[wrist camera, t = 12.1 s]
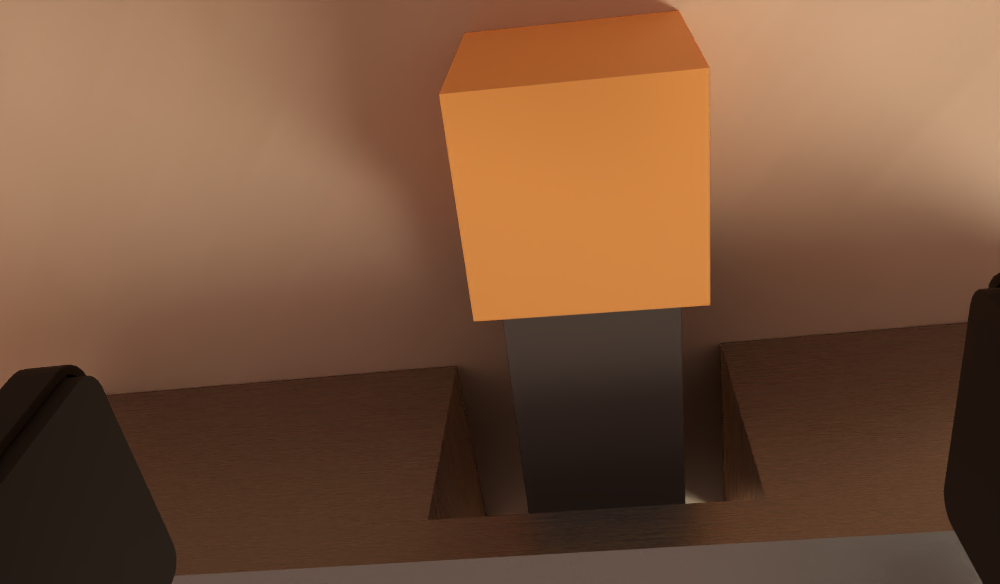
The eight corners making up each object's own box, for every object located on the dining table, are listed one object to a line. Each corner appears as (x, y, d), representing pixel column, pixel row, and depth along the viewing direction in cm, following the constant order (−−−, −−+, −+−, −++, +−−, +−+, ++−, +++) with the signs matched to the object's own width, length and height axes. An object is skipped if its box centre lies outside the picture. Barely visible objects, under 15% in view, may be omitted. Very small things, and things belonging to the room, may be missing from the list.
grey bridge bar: (1111, 487, 21) (1294, 716, 16) (159, 547, 24) (47, 756, 19) (1156, 306, 19) (1388, 505, 13) (92, 396, 21) (-58, 589, 16)
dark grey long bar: (690, 662, 25) (711, 802, 21) (549, 665, 25) (547, 803, 22) (678, 10, 16) (709, 67, 13) (465, 32, 17) (438, 94, 13)
